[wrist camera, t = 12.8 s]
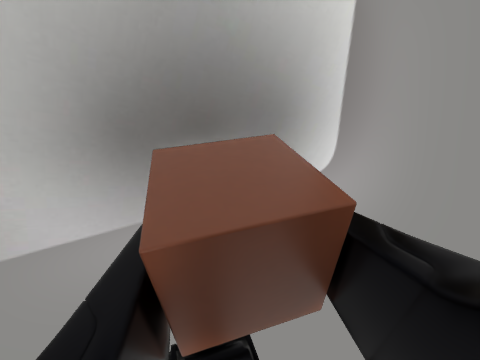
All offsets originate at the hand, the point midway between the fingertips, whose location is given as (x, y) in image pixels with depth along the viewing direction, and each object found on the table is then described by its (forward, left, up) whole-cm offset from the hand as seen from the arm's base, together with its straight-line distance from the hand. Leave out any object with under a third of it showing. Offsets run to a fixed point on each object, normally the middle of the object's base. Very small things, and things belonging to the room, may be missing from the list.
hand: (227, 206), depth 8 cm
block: (0, 0, -1) cm, 1 cm away
